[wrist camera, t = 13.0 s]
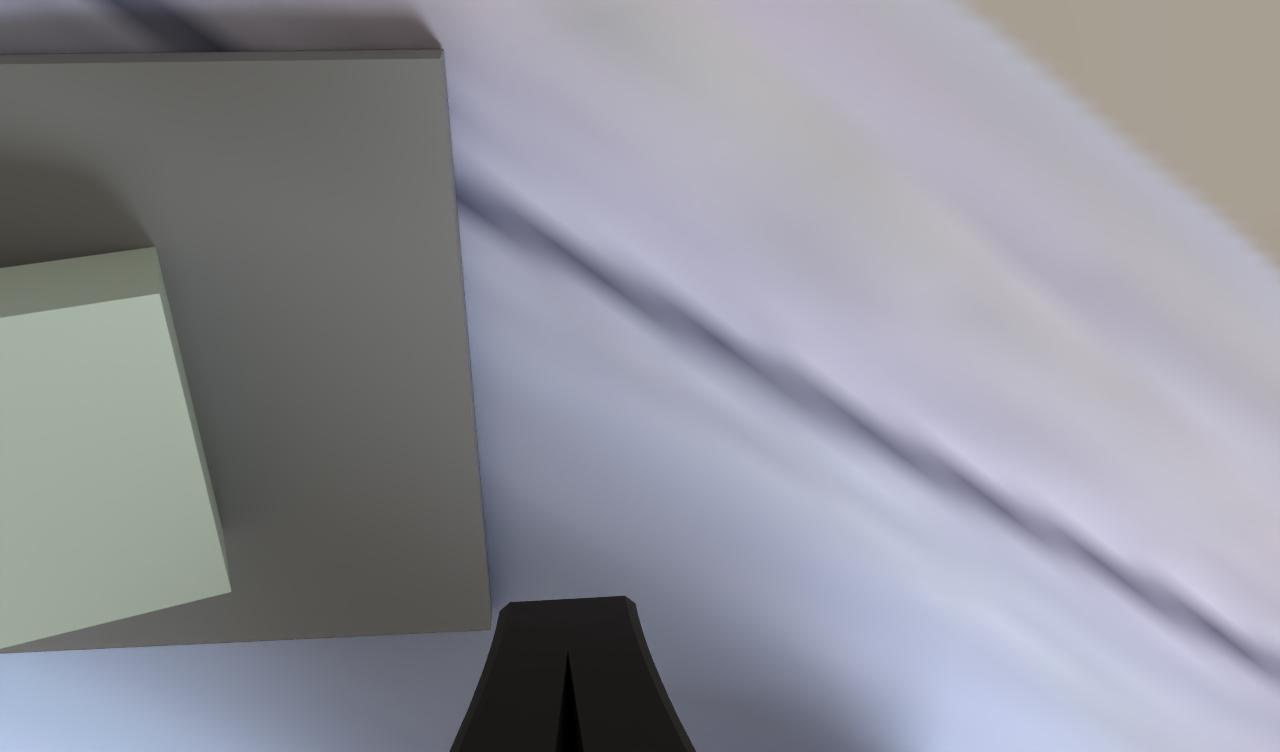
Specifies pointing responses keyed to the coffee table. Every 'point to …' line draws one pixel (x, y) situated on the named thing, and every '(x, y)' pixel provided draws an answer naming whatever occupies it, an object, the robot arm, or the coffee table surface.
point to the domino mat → (281, 316)
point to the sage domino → (98, 451)
